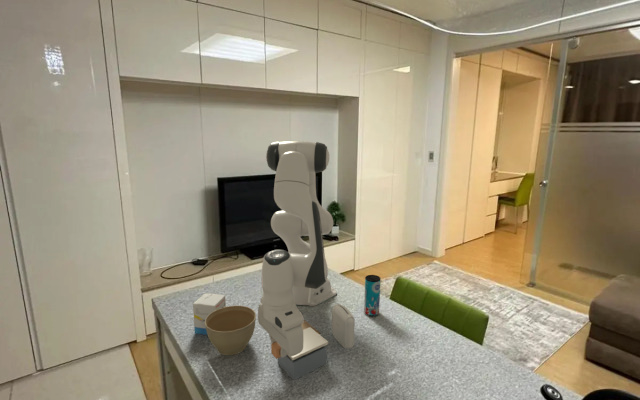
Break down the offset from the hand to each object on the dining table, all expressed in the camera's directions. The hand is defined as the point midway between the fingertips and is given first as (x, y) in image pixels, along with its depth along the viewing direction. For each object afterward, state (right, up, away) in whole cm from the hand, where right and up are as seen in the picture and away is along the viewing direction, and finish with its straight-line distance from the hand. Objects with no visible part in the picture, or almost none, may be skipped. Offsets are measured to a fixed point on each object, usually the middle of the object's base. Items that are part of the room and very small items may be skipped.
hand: (279, 351), depth 97 cm
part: (+8, -6, +9) cm, 13 cm away
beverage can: (+32, -1, +36) cm, 48 cm away
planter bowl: (-17, -5, +14) cm, 23 cm away
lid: (+5, -1, +4) cm, 7 cm away
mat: (+3, -4, +22) cm, 22 cm away
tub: (+6, -7, +6) cm, 11 cm away
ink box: (-28, -3, +25) cm, 38 cm away
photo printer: (+20, -5, +18) cm, 27 cm away
